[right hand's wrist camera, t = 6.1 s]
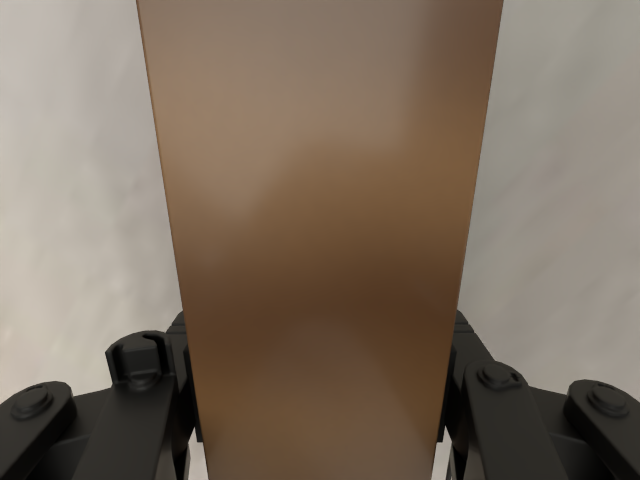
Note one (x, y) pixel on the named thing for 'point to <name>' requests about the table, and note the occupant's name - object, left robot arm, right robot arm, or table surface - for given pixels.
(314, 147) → the post
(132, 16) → the table surface
